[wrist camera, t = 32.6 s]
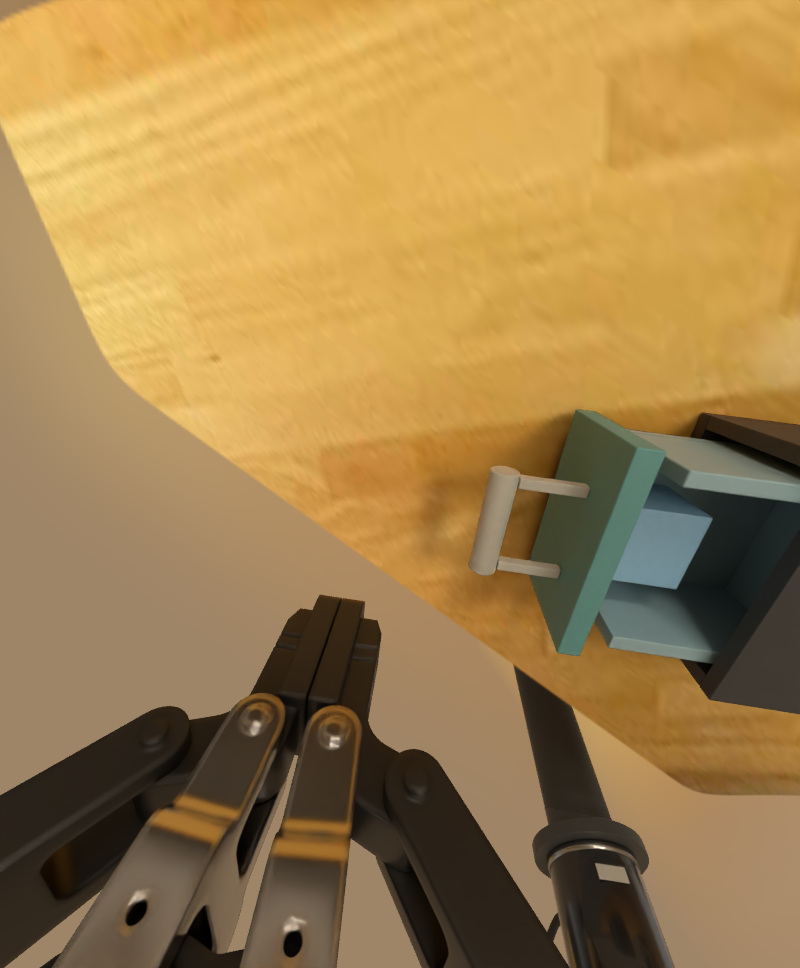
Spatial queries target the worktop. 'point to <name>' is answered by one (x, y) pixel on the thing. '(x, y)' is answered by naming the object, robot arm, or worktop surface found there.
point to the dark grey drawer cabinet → (759, 597)
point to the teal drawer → (611, 520)
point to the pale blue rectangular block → (662, 540)
